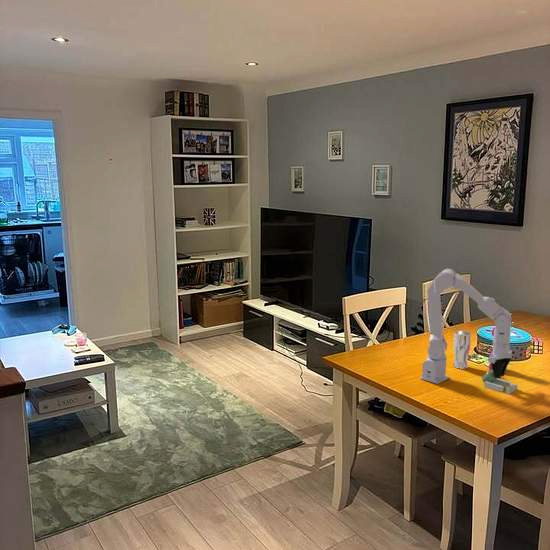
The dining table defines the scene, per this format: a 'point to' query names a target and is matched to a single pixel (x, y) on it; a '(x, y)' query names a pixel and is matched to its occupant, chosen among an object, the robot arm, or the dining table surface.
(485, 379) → the bottle
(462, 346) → the pale grey carved column
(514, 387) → the rest
